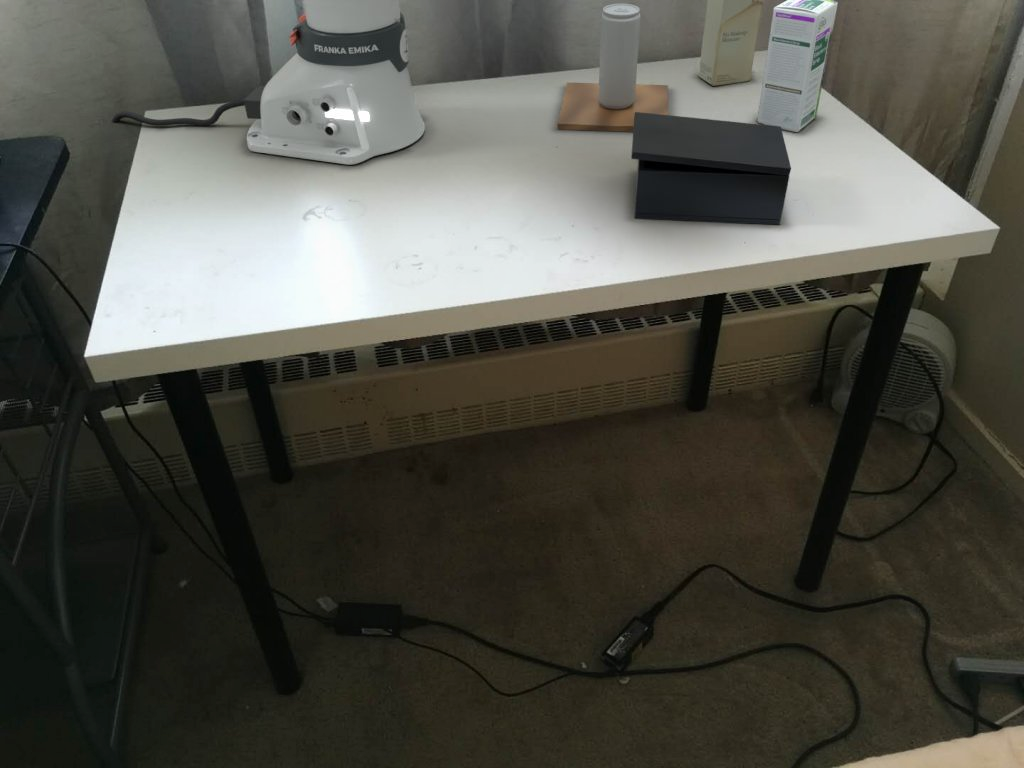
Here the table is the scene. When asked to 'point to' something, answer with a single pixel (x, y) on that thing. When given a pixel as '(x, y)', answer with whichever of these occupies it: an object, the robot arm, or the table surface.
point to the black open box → (708, 194)
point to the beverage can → (618, 55)
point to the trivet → (590, 115)
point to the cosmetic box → (729, 40)
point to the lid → (709, 143)
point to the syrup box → (796, 62)
